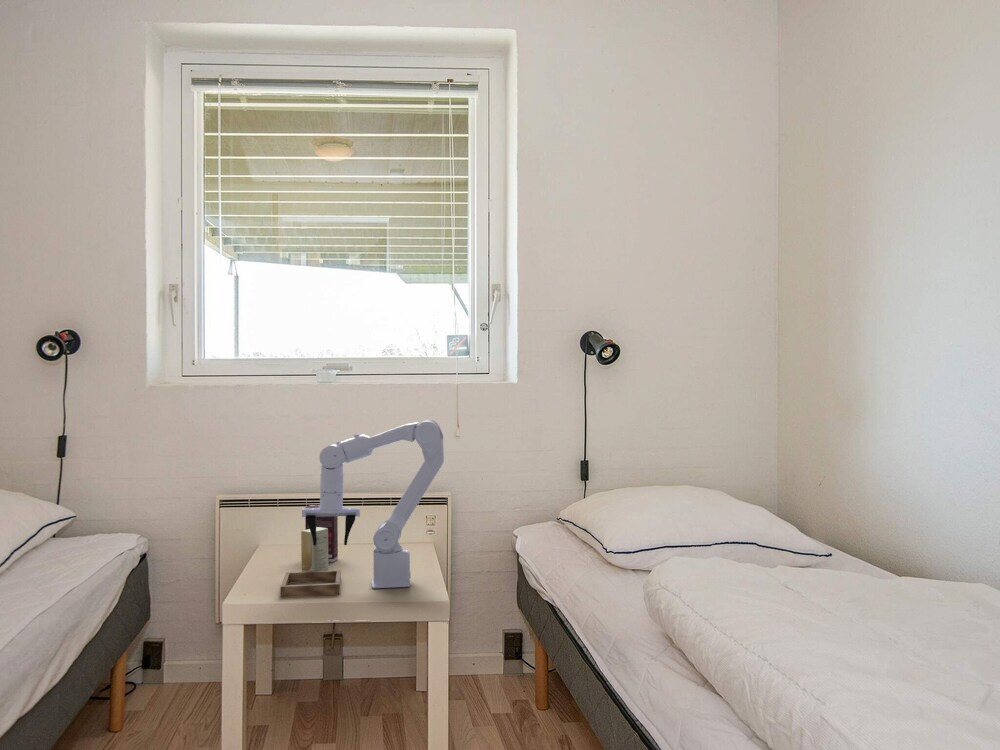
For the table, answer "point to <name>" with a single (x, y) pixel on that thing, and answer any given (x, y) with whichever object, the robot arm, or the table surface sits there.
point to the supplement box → (332, 526)
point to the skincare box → (314, 550)
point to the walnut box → (311, 588)
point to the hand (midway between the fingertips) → (330, 544)
